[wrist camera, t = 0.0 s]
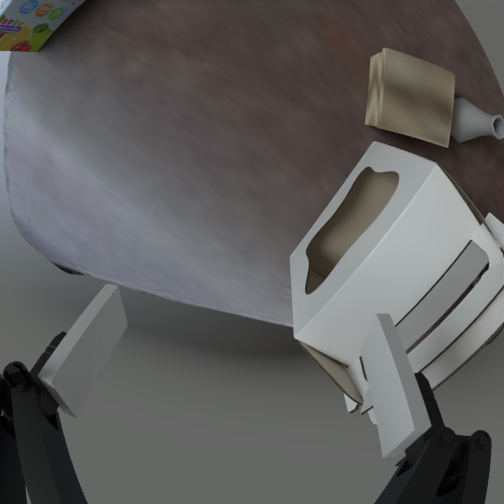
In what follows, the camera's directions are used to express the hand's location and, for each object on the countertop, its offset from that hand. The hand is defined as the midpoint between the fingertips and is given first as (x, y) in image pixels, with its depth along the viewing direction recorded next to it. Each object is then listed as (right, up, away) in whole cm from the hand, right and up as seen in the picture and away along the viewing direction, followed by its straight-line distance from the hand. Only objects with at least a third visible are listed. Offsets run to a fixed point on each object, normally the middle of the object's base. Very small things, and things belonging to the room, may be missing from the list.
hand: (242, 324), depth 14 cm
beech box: (+21, +25, +17) cm, 36 cm away
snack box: (-31, +46, +11) cm, 56 cm away
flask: (+32, +24, +17) cm, 43 cm away
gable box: (+17, +8, +26) cm, 32 cm away
